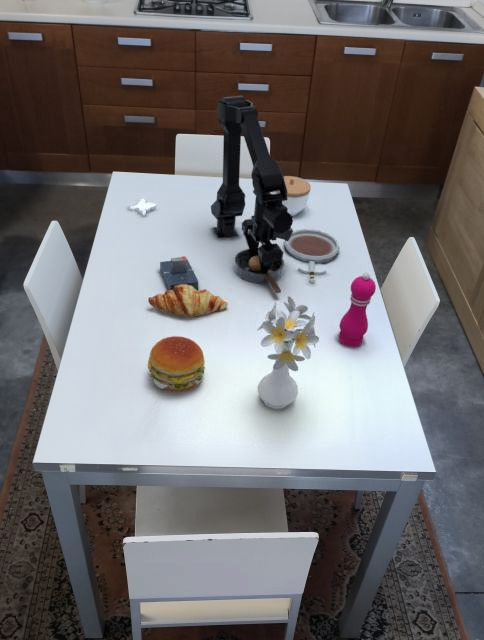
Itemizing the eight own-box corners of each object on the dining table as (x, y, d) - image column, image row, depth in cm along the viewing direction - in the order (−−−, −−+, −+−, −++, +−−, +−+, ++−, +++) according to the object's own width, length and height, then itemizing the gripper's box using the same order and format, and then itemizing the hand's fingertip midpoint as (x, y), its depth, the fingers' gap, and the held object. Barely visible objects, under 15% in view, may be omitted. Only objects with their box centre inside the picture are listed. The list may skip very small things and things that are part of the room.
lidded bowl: (263, 214, 211) (267, 181, 203) (276, 198, 220) (280, 166, 212) (299, 223, 209) (304, 191, 201) (311, 207, 217) (316, 175, 209)
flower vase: (255, 431, 143) (267, 342, 125) (246, 376, 155) (255, 288, 137) (312, 430, 144) (332, 341, 126) (299, 375, 157) (315, 288, 138)
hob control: (159, 271, 184) (159, 261, 182) (187, 267, 186) (187, 258, 184) (169, 294, 177) (169, 284, 174) (198, 290, 179) (199, 281, 176)
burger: (183, 404, 147) (183, 371, 140) (136, 381, 151) (134, 348, 144) (215, 373, 155) (217, 340, 148) (169, 352, 160) (169, 319, 152)
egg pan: (228, 261, 190) (228, 250, 188) (272, 256, 194) (274, 245, 191) (243, 287, 181) (244, 277, 179) (289, 281, 185) (291, 271, 182)
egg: (245, 267, 188) (247, 253, 185) (266, 264, 190) (267, 251, 186) (250, 275, 185) (252, 261, 182) (271, 272, 187) (273, 259, 184)
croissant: (225, 313, 178) (226, 284, 175) (229, 319, 168) (230, 288, 166) (148, 312, 175) (148, 282, 173) (148, 317, 166) (148, 285, 163)
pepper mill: (366, 335, 170) (384, 269, 155) (361, 351, 165) (379, 284, 150) (339, 328, 171) (355, 262, 157) (333, 344, 166) (349, 276, 152)
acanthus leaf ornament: (142, 201, 212) (142, 196, 211) (158, 208, 210) (158, 203, 208) (127, 209, 208) (127, 204, 206) (143, 216, 205) (143, 211, 204)
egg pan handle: (264, 277, 181) (264, 274, 181) (270, 276, 182) (270, 273, 181) (274, 293, 176) (275, 290, 175) (280, 292, 176) (281, 290, 176)
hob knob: (172, 273, 178) (172, 260, 175) (171, 270, 179) (170, 257, 176) (186, 272, 179) (187, 258, 176) (185, 269, 180) (185, 255, 177)
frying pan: (283, 275, 183) (285, 225, 202) (282, 283, 185) (283, 233, 204) (342, 281, 183) (338, 230, 202) (340, 289, 185) (337, 238, 204)
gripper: (304, 229, 171) (296, 280, 183) (279, 197, 183) (273, 246, 194) (265, 233, 168) (259, 285, 180) (243, 200, 180) (239, 250, 192)
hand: (259, 266), depth 186 cm, fingers open, 9 cm apart
